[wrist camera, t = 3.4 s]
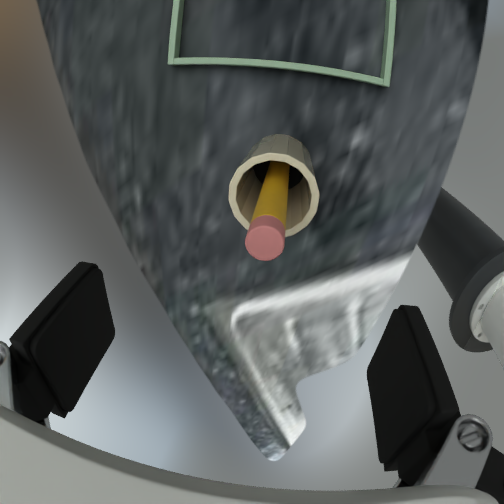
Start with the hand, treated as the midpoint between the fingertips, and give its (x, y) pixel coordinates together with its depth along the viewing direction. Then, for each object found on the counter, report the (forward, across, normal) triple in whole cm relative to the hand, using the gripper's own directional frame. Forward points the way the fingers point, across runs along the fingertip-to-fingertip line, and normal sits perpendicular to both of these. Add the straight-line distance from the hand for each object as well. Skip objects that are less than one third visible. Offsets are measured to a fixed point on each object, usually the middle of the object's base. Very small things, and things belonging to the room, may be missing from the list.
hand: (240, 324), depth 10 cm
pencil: (+22, 0, 0) cm, 22 cm away
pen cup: (+22, 0, 0) cm, 22 cm away
